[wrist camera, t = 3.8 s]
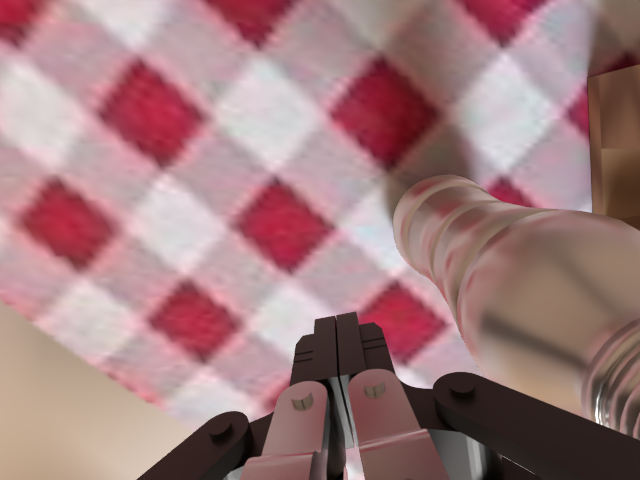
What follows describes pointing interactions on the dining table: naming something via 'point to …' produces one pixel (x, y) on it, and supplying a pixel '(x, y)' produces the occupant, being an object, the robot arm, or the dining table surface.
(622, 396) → the silver metal bottle
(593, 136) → the u rest
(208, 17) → the dining table surface
